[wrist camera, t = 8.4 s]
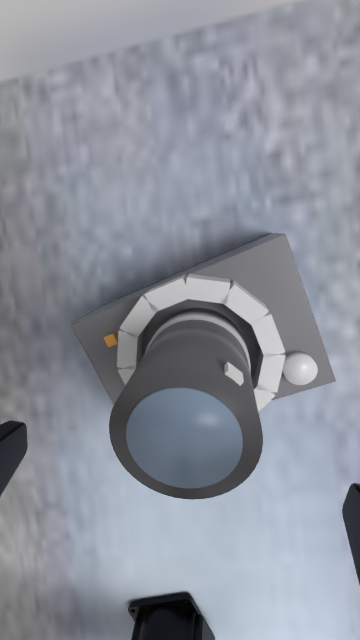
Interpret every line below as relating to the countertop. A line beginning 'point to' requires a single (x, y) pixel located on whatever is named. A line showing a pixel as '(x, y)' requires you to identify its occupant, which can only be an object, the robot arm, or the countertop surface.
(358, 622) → the countertop surface
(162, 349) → the lens
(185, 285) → the camera body
